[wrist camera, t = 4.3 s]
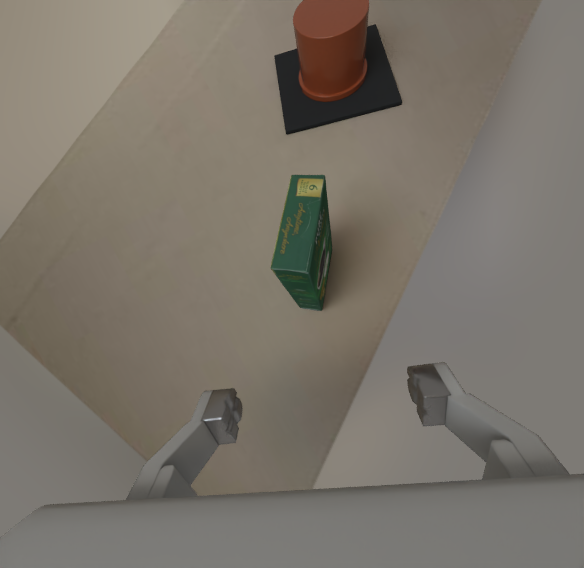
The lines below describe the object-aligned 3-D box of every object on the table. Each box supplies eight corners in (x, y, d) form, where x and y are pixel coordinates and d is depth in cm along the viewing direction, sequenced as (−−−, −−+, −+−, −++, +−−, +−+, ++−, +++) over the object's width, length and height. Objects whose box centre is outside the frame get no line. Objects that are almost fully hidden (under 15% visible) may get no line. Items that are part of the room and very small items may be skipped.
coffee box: (310, 244, 31) (289, 169, 19) (333, 246, 31) (328, 171, 18) (298, 307, 29) (266, 272, 17) (322, 312, 29) (308, 277, 16)
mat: (375, 27, 39) (375, 23, 39) (401, 104, 34) (402, 101, 34) (275, 58, 41) (274, 55, 41) (286, 134, 37) (285, 132, 36)
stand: (359, 43, 38) (363, -28, 31) (373, 90, 35) (381, 23, 28) (295, 63, 39) (285, -2, 32) (304, 109, 37) (295, 50, 30)
